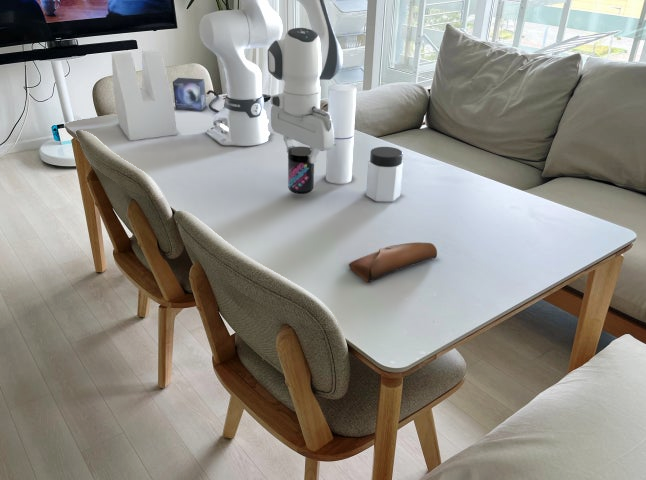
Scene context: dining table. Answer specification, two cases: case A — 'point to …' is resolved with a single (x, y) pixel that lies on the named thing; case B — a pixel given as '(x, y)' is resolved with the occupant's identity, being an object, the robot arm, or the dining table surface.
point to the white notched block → (143, 96)
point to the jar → (384, 174)
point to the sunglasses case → (392, 259)
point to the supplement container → (300, 170)
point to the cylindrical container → (341, 133)
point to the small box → (189, 94)
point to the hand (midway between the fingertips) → (301, 157)
